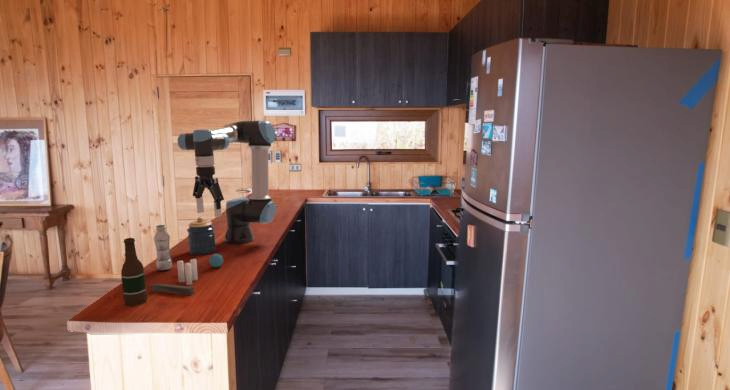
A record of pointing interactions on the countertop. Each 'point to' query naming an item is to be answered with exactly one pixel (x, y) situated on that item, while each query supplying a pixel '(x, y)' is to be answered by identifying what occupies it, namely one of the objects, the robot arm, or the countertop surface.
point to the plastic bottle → (162, 248)
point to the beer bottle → (133, 276)
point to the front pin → (194, 269)
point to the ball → (216, 260)
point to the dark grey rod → (172, 289)
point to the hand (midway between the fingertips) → (209, 214)
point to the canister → (201, 237)
